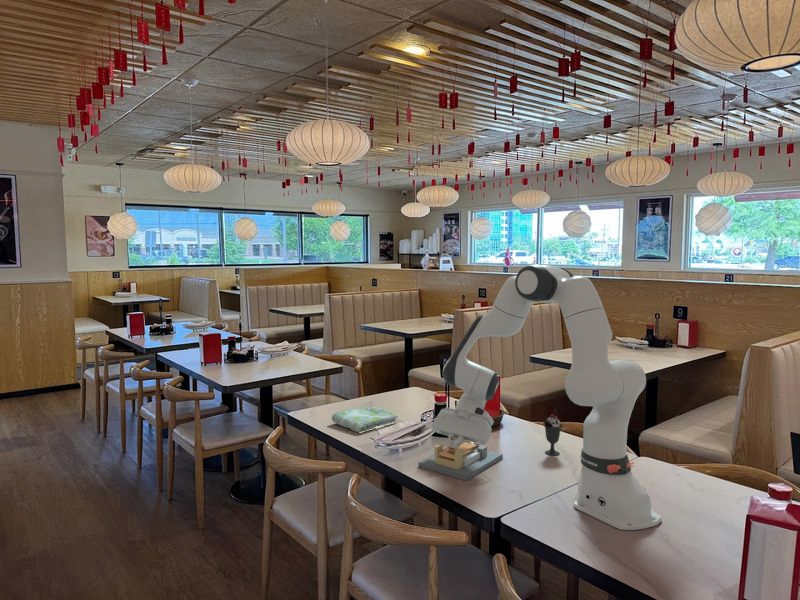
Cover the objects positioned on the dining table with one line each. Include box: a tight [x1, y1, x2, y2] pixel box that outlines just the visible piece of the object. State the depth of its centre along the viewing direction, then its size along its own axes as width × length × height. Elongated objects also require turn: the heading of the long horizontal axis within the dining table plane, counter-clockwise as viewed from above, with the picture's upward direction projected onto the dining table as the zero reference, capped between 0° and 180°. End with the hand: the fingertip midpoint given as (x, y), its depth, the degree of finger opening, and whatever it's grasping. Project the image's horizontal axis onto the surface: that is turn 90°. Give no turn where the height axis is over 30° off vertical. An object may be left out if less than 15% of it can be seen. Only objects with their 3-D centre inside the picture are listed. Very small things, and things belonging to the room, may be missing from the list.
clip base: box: [417, 439, 504, 481], centre depth 178 cm, size 23×18×7 cm
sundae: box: [542, 408, 564, 457], centre depth 185 cm, size 7×7×15 cm
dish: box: [491, 408, 506, 428], centre depth 220 cm, size 17×22×5 cm
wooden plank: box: [439, 440, 480, 459], centre depth 177 cm, size 2×6×15 cm
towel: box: [331, 405, 398, 433], centre depth 220 cm, size 18×21×5 cm
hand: (451, 448), depth 173 cm, fingers closed, pressing on wooden plank
